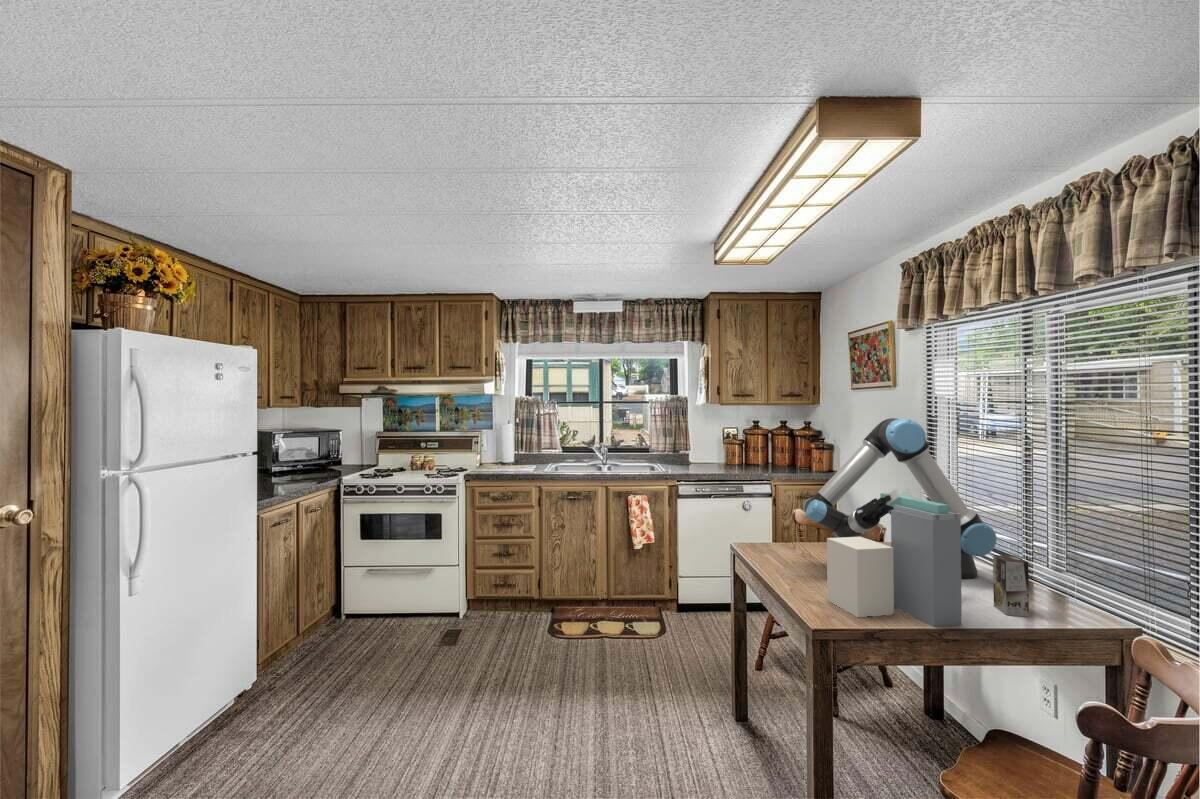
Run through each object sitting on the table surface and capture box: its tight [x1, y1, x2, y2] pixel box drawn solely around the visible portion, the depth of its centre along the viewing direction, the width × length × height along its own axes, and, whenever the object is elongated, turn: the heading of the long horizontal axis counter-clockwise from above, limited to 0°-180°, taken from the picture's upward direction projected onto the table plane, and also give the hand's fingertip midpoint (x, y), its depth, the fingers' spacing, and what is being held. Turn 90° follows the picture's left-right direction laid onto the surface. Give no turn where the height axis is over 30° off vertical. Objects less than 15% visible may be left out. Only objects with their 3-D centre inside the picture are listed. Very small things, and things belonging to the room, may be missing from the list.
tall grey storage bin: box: [890, 505, 963, 628], centre depth 182 cm, size 9×18×32 cm, turn 11°
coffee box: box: [992, 554, 1030, 617], centre depth 185 cm, size 9×6×16 cm
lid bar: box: [880, 492, 948, 514], centre depth 187 cm, size 4×26×4 cm, turn 11°
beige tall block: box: [826, 536, 895, 618], centre depth 189 cm, size 12×16×20 cm
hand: (903, 493), depth 191 cm, fingers closed on lid bar, 3 cm apart
